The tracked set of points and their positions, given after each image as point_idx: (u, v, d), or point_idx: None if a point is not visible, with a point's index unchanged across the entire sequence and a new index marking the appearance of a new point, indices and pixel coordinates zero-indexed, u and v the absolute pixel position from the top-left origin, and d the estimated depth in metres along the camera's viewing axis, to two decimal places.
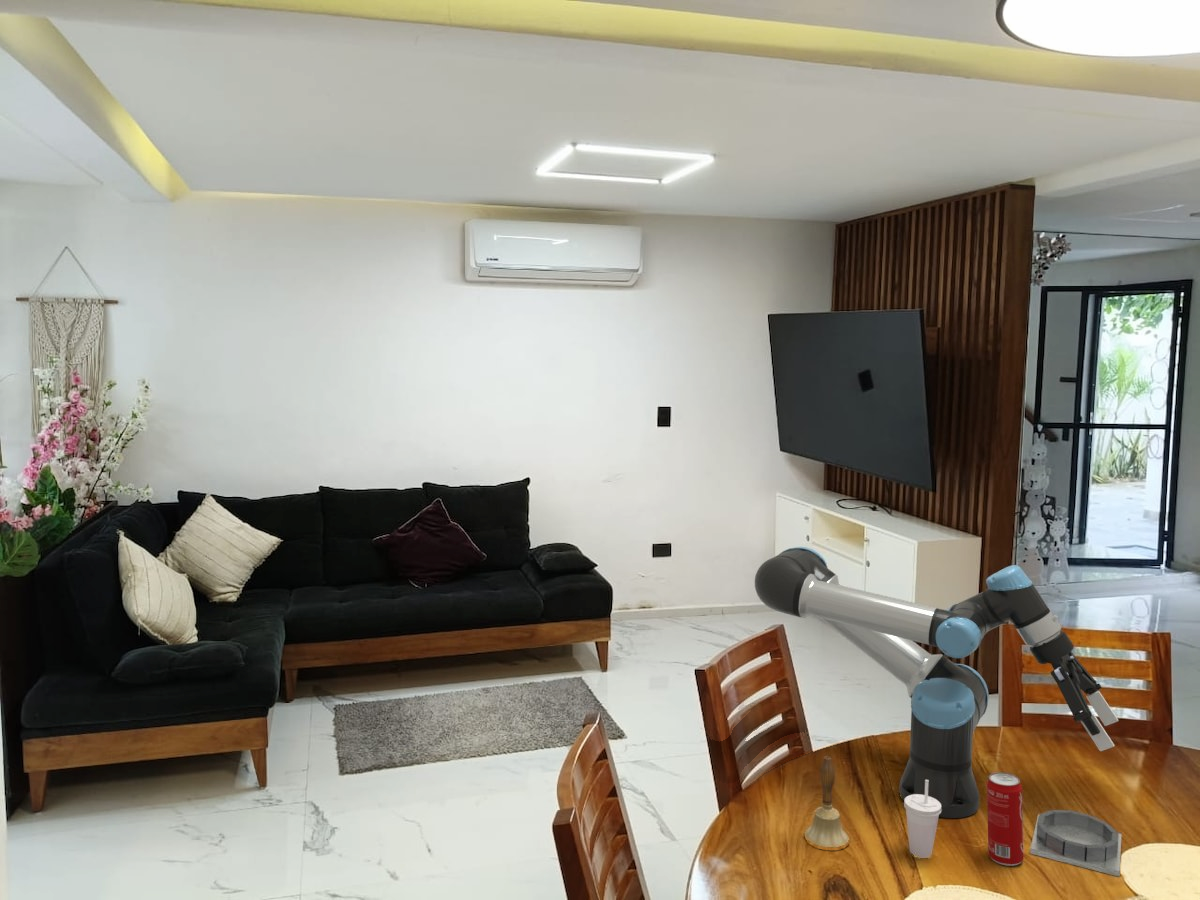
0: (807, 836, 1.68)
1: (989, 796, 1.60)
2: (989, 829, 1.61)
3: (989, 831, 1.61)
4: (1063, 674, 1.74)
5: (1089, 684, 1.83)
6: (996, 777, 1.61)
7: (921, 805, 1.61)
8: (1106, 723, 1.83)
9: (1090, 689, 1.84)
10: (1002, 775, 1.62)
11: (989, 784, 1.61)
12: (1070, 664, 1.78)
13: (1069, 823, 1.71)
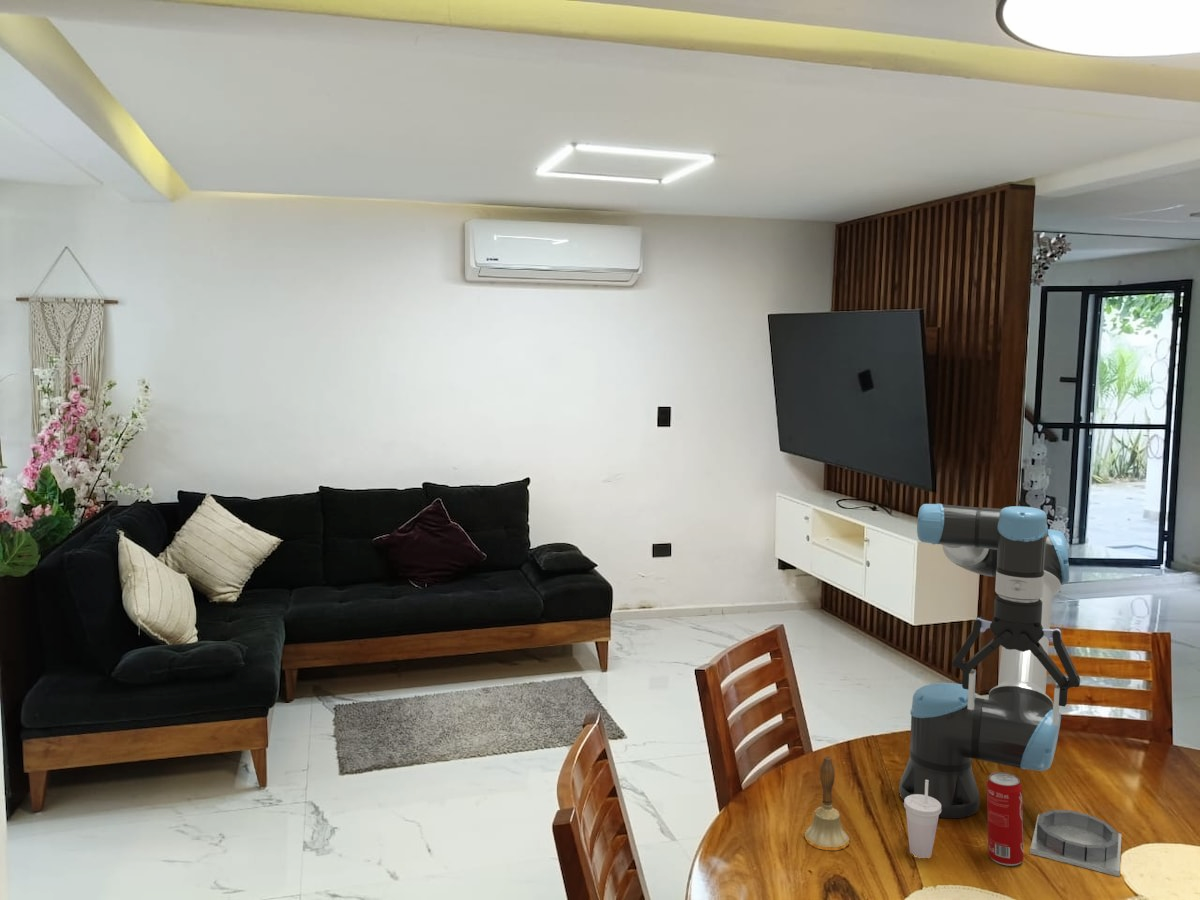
0: (807, 836, 1.68)
1: (989, 796, 1.60)
2: (989, 829, 1.61)
3: (989, 831, 1.61)
4: None
5: None
6: (996, 777, 1.61)
7: (921, 805, 1.61)
8: None
9: None
10: (1002, 775, 1.62)
11: (989, 784, 1.61)
12: (1005, 631, 1.57)
13: (1069, 823, 1.71)
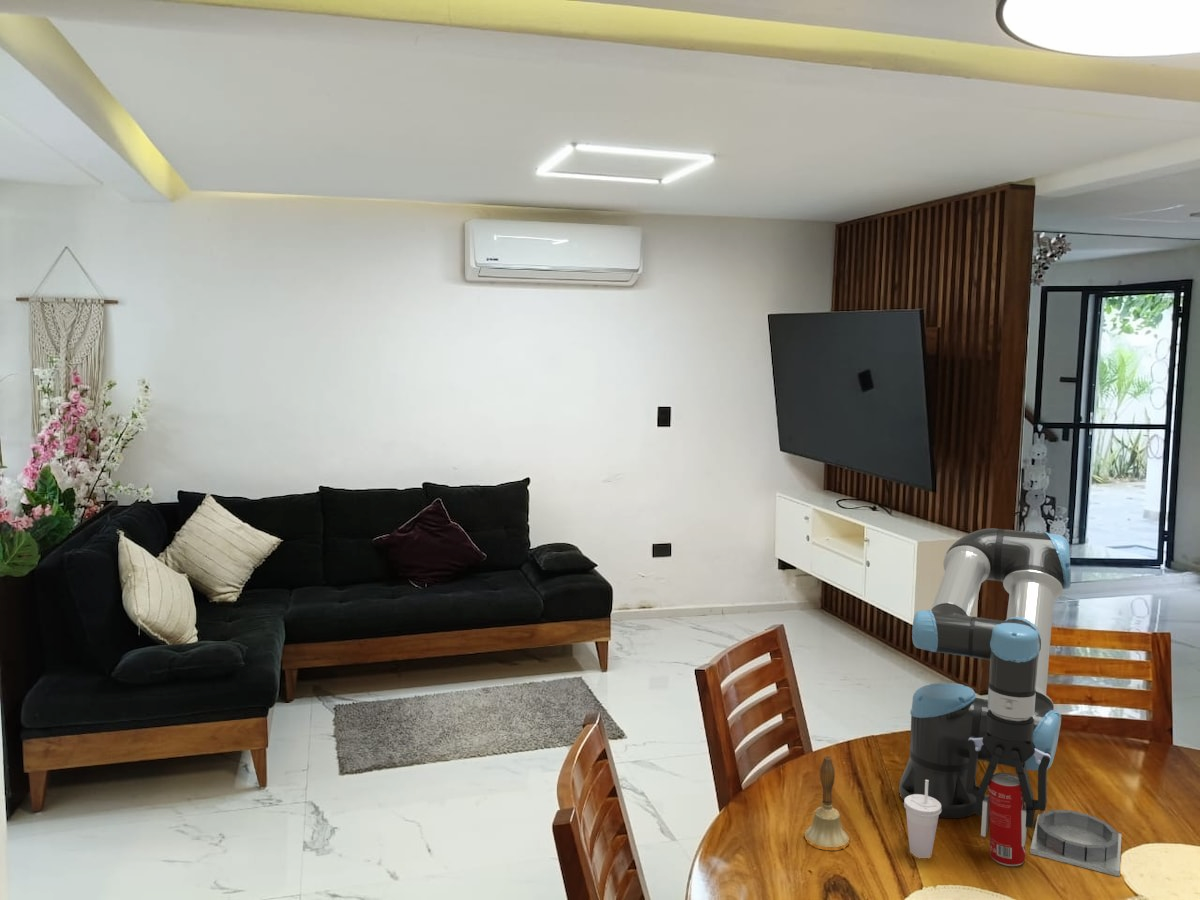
0: (807, 836, 1.68)
1: (991, 797, 1.60)
2: (991, 829, 1.61)
3: (991, 831, 1.61)
4: None
5: (1022, 793, 1.58)
6: (998, 777, 1.61)
7: (921, 805, 1.61)
8: None
9: None
10: (1004, 775, 1.62)
11: (991, 784, 1.60)
12: (996, 747, 1.59)
13: (1069, 823, 1.71)
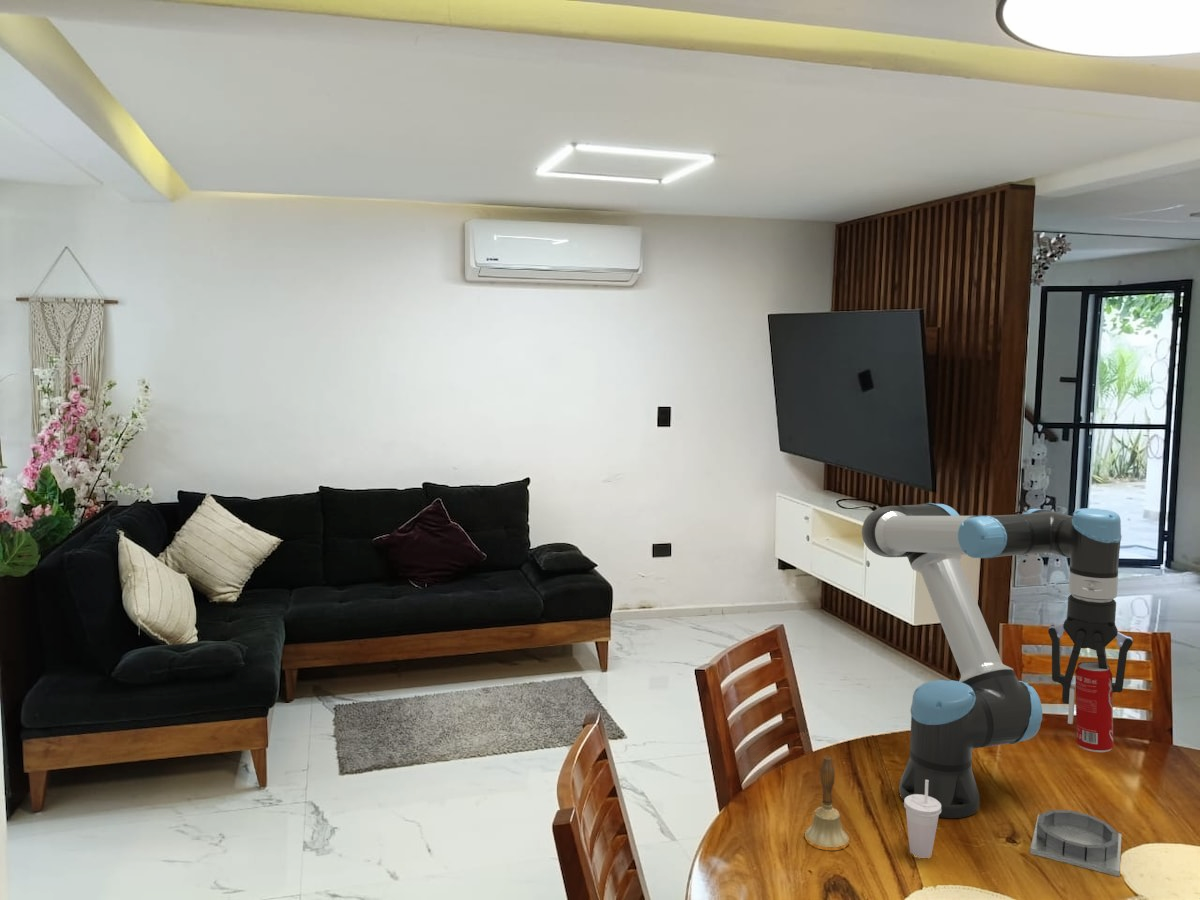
0: (807, 836, 1.68)
1: (1077, 683, 1.61)
2: (1077, 716, 1.62)
3: (1077, 718, 1.62)
4: (1050, 635, 1.64)
5: None
6: (1085, 665, 1.62)
7: (921, 805, 1.61)
8: None
9: None
10: (1092, 663, 1.62)
11: (1077, 670, 1.61)
12: (1077, 631, 1.60)
13: (1069, 823, 1.71)
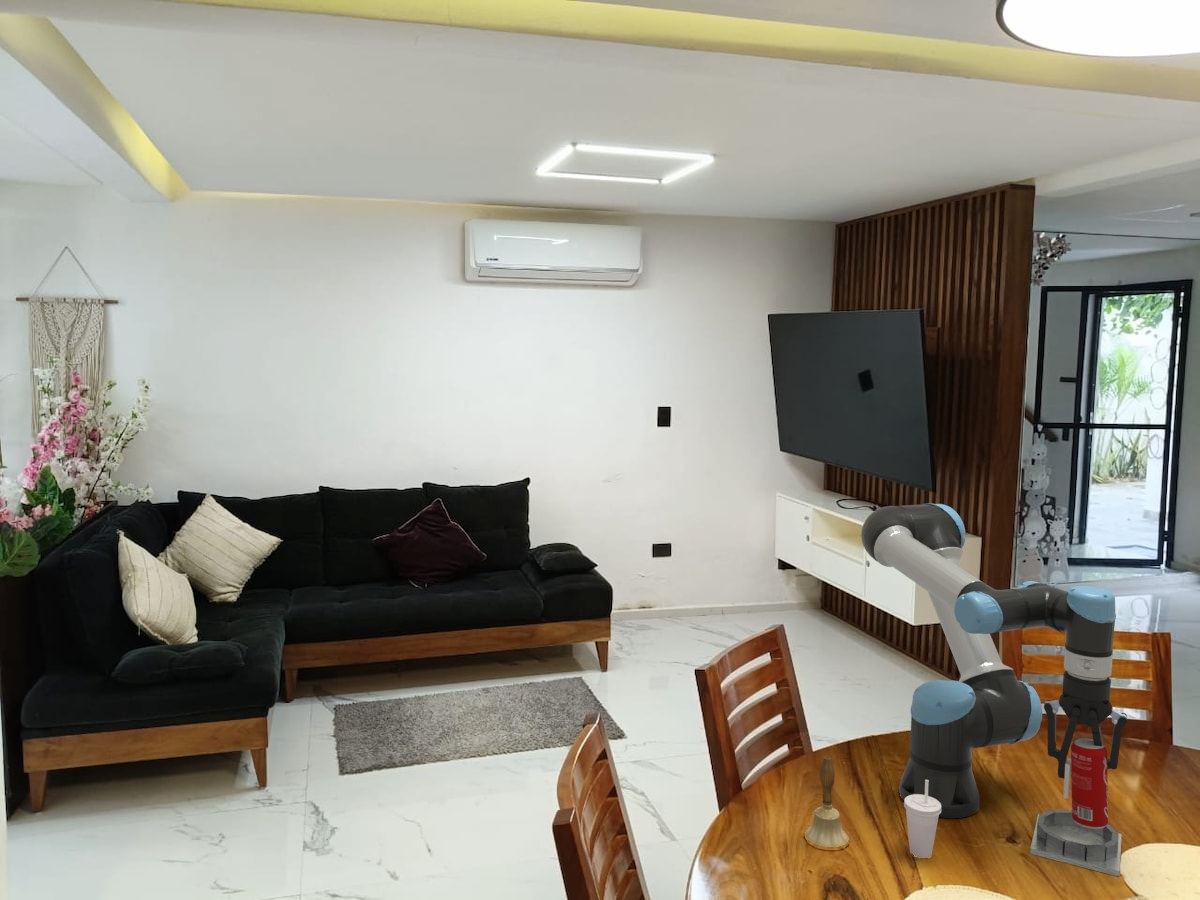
0: (807, 836, 1.68)
1: (1072, 759, 1.63)
2: (1072, 792, 1.63)
3: (1072, 794, 1.64)
4: None
5: None
6: (1080, 741, 1.63)
7: (921, 805, 1.61)
8: None
9: None
10: (1088, 740, 1.64)
11: (1072, 747, 1.63)
12: (1073, 708, 1.62)
13: (1069, 823, 1.71)
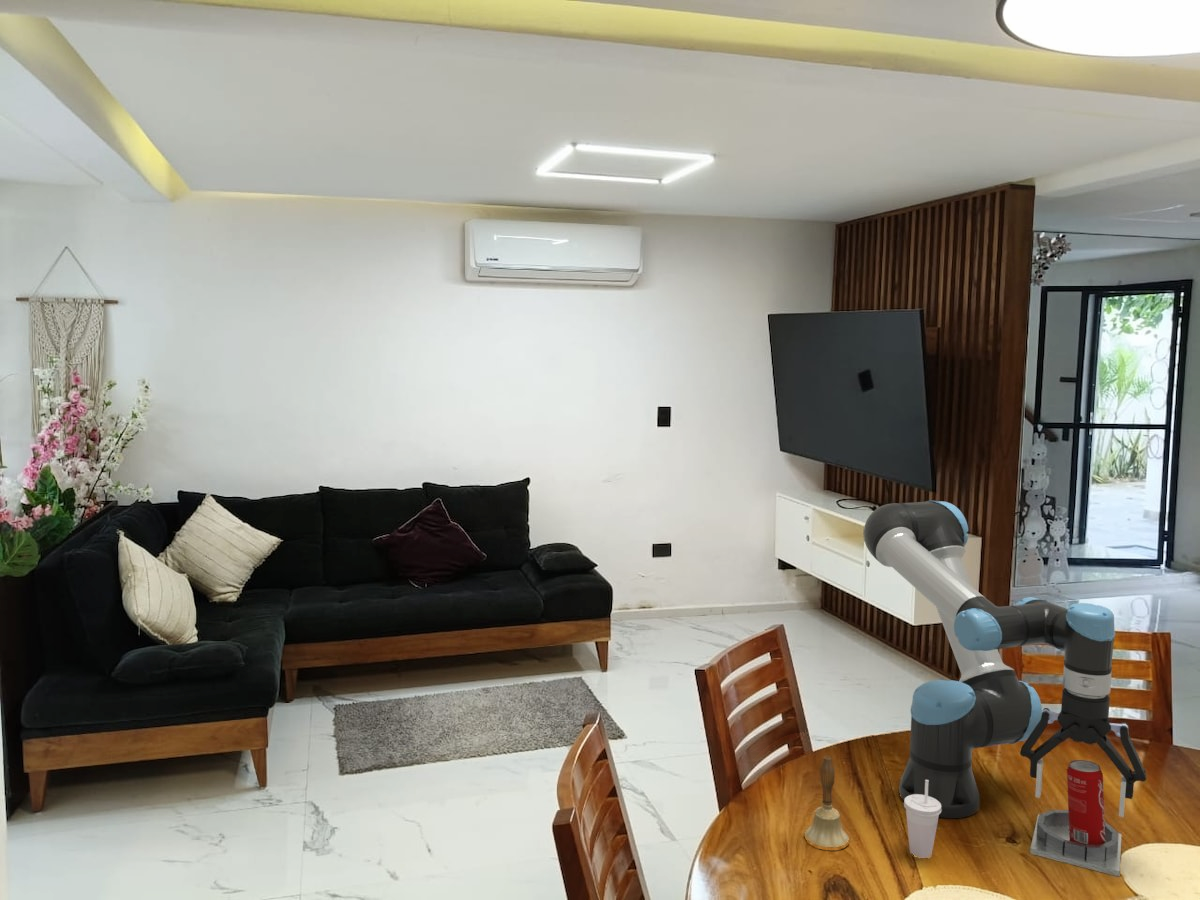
0: (807, 836, 1.68)
1: (1068, 782, 1.64)
2: (1069, 814, 1.64)
3: (1069, 816, 1.64)
4: None
5: None
6: (1076, 763, 1.64)
7: (921, 805, 1.61)
8: None
9: None
10: (1084, 763, 1.64)
11: (1068, 769, 1.64)
12: (1073, 724, 1.62)
13: None
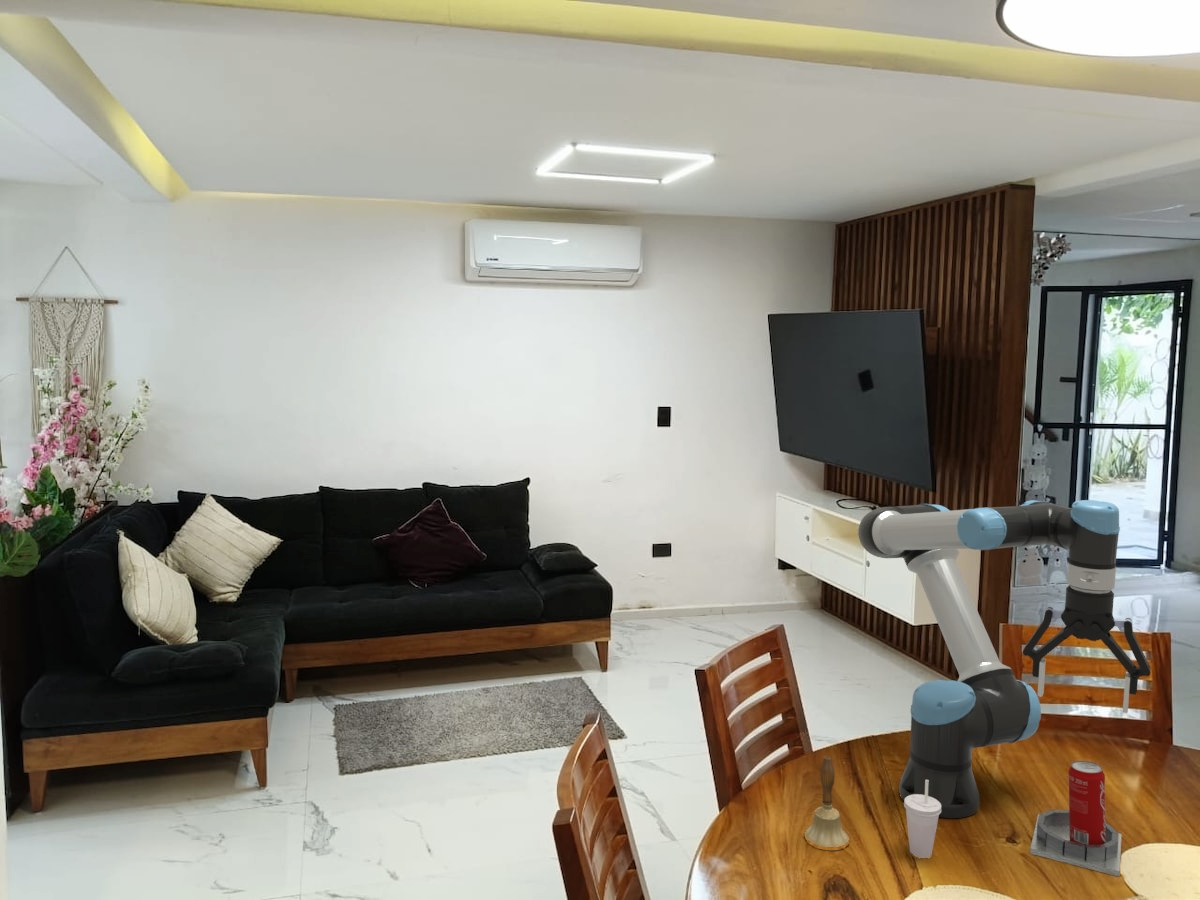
0: (807, 836, 1.68)
1: (1069, 782, 1.63)
2: (1069, 814, 1.64)
3: (1069, 816, 1.64)
4: None
5: (1121, 663, 1.59)
6: (1078, 764, 1.64)
7: (921, 805, 1.61)
8: None
9: None
10: (1086, 763, 1.64)
11: (1070, 770, 1.64)
12: (1076, 621, 1.61)
13: None
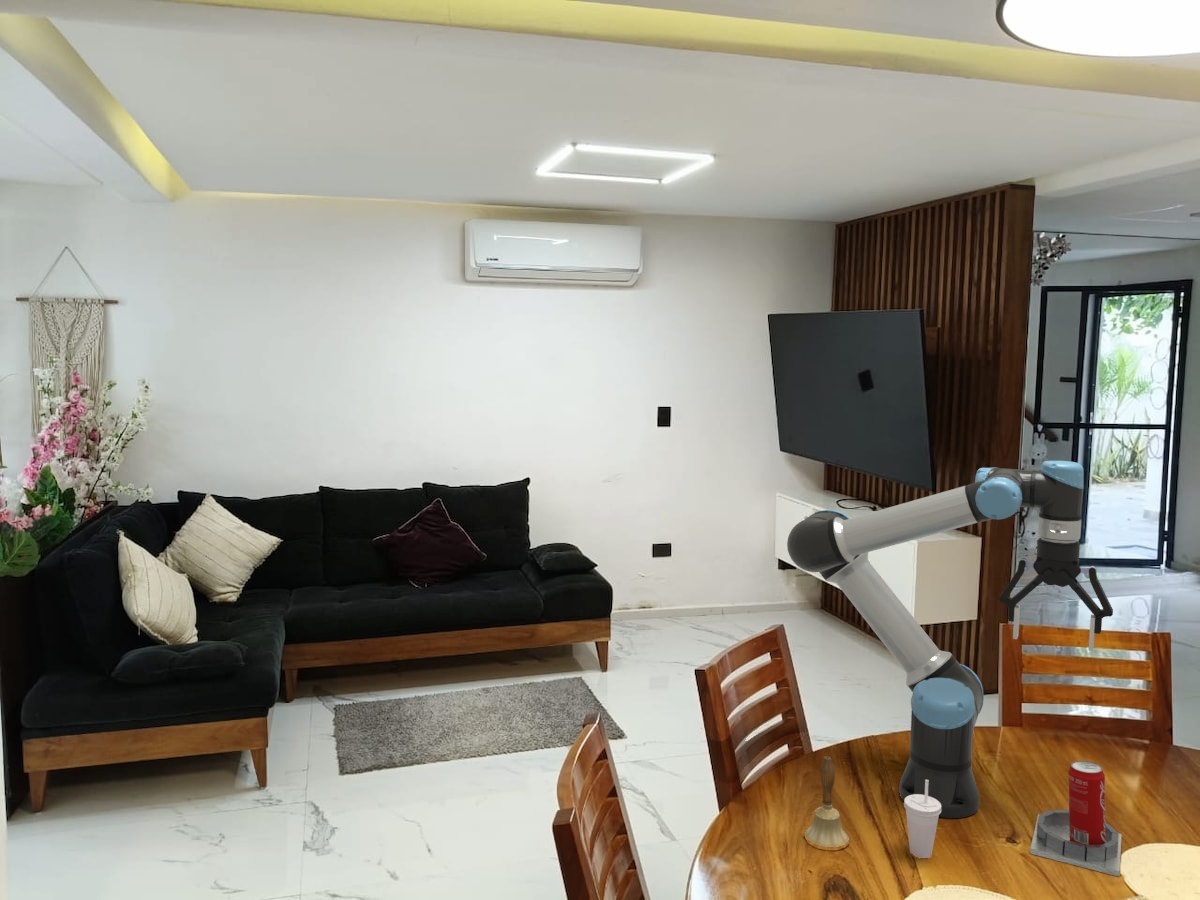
0: (807, 836, 1.68)
1: (1069, 782, 1.63)
2: (1069, 814, 1.64)
3: (1069, 816, 1.64)
4: (1018, 565, 1.83)
5: (1087, 606, 1.77)
6: (1078, 764, 1.64)
7: (921, 805, 1.61)
8: None
9: None
10: (1086, 763, 1.64)
11: (1070, 770, 1.64)
12: (1046, 569, 1.79)
13: None
